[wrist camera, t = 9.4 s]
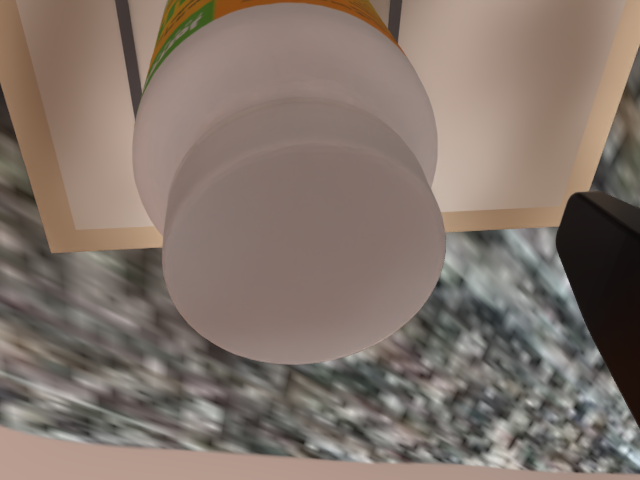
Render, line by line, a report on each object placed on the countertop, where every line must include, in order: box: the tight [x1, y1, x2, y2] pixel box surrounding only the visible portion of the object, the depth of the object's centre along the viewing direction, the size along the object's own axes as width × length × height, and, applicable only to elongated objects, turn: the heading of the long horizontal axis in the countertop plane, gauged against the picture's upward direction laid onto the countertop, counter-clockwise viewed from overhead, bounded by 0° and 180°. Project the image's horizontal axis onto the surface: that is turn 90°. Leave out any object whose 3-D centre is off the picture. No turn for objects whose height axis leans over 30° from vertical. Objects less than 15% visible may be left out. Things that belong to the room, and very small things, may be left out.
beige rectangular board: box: [0, 0, 640, 253], centre depth 17 cm, size 18×12×2 cm, turn 88°
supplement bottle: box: [132, 0, 446, 364], centre depth 12 cm, size 5×5×10 cm
